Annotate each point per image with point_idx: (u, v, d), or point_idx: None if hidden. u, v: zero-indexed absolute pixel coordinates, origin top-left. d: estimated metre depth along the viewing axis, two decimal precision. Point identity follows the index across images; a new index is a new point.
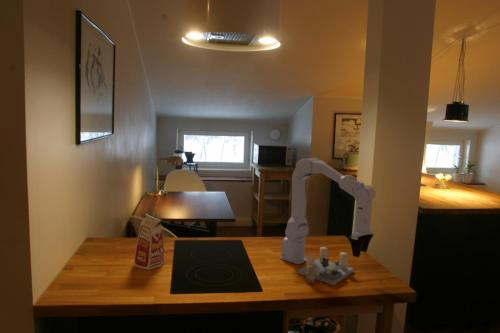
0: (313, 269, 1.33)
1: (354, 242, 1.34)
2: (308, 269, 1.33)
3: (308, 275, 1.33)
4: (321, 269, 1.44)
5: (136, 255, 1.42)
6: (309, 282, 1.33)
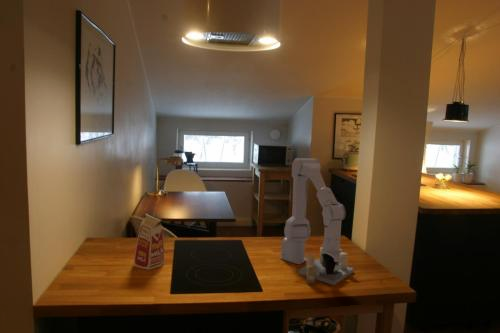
0: (313, 269, 1.33)
1: None
2: (308, 269, 1.33)
3: (308, 275, 1.33)
4: (321, 269, 1.44)
5: (136, 255, 1.42)
6: (309, 282, 1.33)
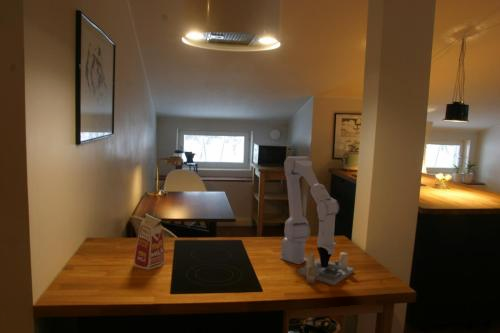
0: (313, 269, 1.33)
1: (323, 253, 1.38)
2: (308, 269, 1.33)
3: (308, 275, 1.33)
4: (321, 269, 1.44)
5: (136, 255, 1.42)
6: (309, 282, 1.33)
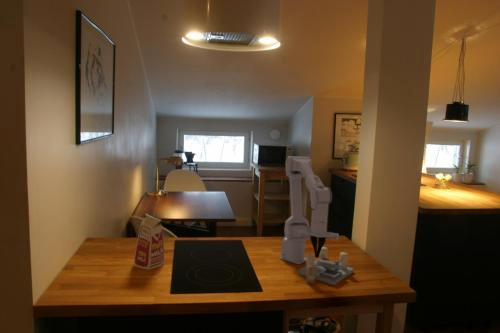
0: (313, 269, 1.33)
1: None
2: (308, 269, 1.33)
3: (308, 275, 1.33)
4: (321, 269, 1.44)
5: (136, 255, 1.42)
6: (309, 282, 1.33)
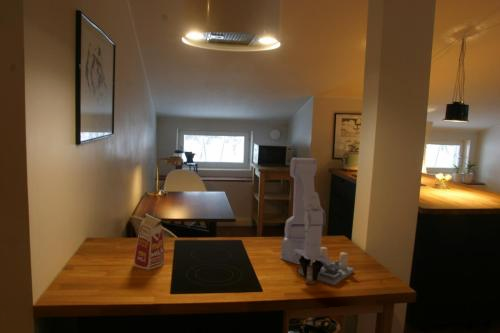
0: None
1: None
2: (308, 269, 1.33)
3: (308, 275, 1.33)
4: (321, 269, 1.44)
5: (136, 255, 1.42)
6: (309, 282, 1.33)
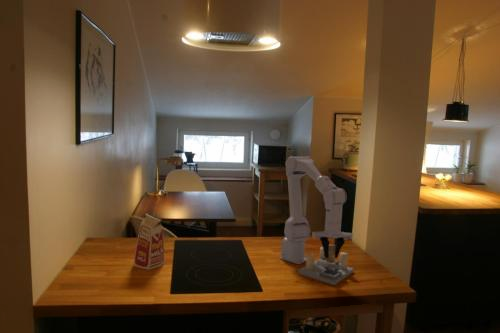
0: (335, 247, 1.35)
1: None
2: (331, 248, 1.34)
3: (331, 254, 1.35)
4: (321, 269, 1.44)
5: (136, 255, 1.42)
6: (332, 261, 1.35)
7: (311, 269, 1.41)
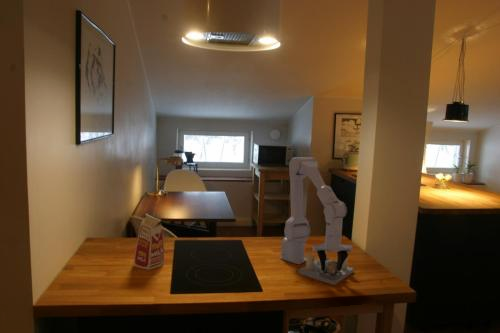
0: (335, 262, 1.36)
1: None
2: (331, 264, 1.35)
3: (331, 270, 1.35)
4: (321, 269, 1.44)
5: (136, 255, 1.42)
6: None
7: (311, 269, 1.41)
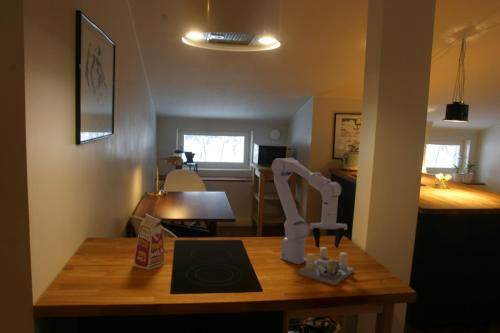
0: (335, 262, 1.36)
1: None
2: (331, 264, 1.35)
3: (331, 270, 1.35)
4: (321, 269, 1.44)
5: (136, 255, 1.42)
6: None
7: (311, 269, 1.41)
